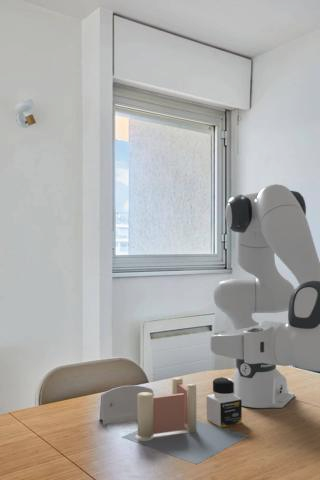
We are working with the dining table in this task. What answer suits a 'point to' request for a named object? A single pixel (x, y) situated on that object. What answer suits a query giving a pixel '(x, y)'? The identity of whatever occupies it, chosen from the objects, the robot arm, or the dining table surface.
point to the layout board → (190, 441)
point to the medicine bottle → (224, 403)
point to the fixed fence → (187, 401)
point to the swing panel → (160, 413)
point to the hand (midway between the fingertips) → (217, 335)
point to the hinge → (121, 404)
